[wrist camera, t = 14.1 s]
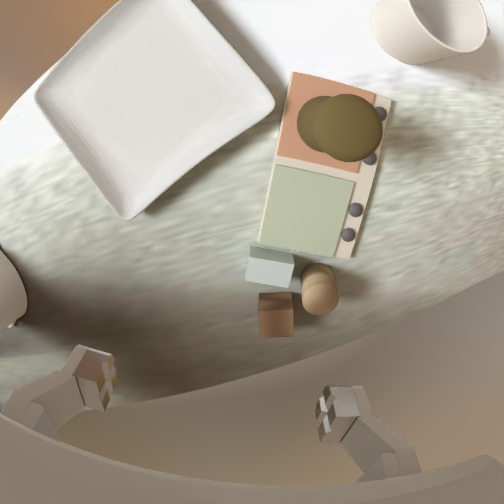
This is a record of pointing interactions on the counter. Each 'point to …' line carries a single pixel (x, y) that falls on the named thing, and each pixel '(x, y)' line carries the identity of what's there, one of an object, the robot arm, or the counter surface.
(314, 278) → the cork stopper
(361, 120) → the pepper shaker
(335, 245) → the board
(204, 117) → the salad plate
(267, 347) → the counter surface
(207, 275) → the counter surface
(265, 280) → the soap box
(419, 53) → the mug
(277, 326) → the walnut cube
